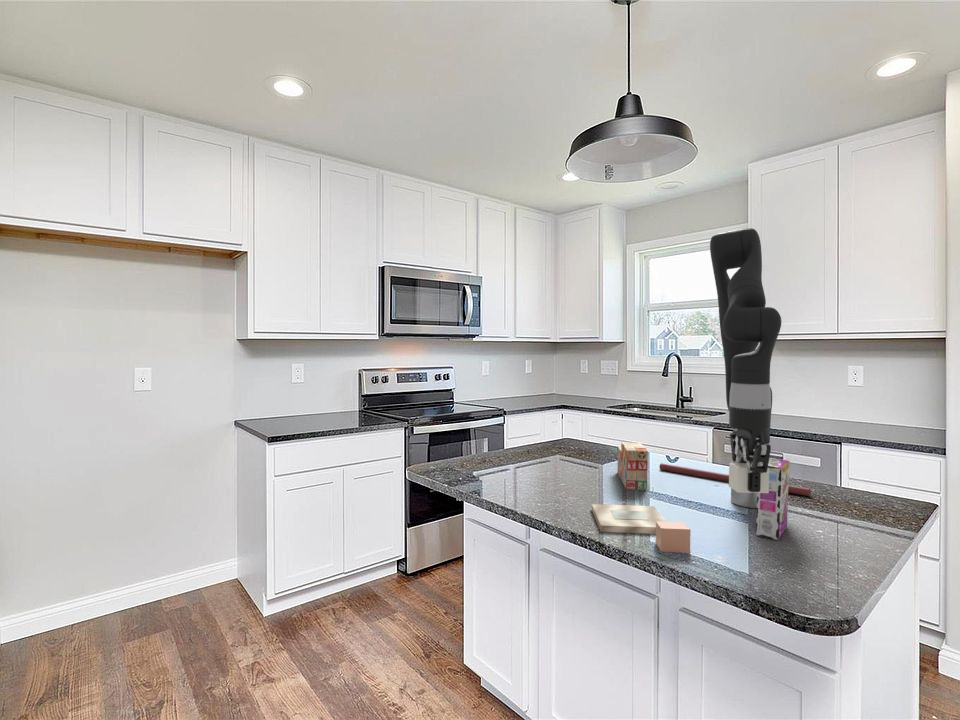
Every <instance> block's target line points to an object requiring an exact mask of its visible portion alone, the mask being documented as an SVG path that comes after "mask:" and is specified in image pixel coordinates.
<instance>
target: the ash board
mask: <svg viewBox="0 0 960 720" xmlns="http://www.w3.org/2000/svg"><path fill="white" fill-rule="evenodd" d="M591 511H592V513H593V517H594V518H595V520H596V523H597V526H598V528H599V531H600V532H601V533H626V534H627V533H629V534H651V535H653V534H655V535H656V521H666V522H668V521H667V520H666V519H665V518H664V517H663V516H662V513H660V511H659V510H658V509H657V507H656V506H654V505H631V504H630V505H629V504H628V505H625V504H601V503H600V504H599V503H598V504H596V503H595V504H591Z"/></svg>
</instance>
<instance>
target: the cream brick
mask: <svg viewBox="0 0 960 720" xmlns="http://www.w3.org/2000/svg"><path fill="white" fill-rule="evenodd" d="M728 475H729V482H728V487H729V488H730V489H731V488H732V489H733V490H735V491H736V492H738V493H769V468H767V472H766V473H764V472H763V473H761V482H760V491H759V492H750V491H749V490H748V469H747V463H732V462H729V463H728Z"/></svg>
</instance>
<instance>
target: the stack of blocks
mask: <svg viewBox="0 0 960 720" xmlns="http://www.w3.org/2000/svg"><path fill="white" fill-rule="evenodd" d="M616 451H617V452H616V453H617V474H618V476H619V478H620V480H621V481H622V484H623V486H624V489H625V490H626V489H627V490H628V491H648V464H649V462H648V460H649V457H648V456H649V450H648V449H647V448H646V446H644V445H643V444H642V443H641V442H627V441H625V442H621V444H620V445H619V446H618V445H617V447H616Z"/></svg>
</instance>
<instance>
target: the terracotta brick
mask: <svg viewBox="0 0 960 720" xmlns="http://www.w3.org/2000/svg"><path fill="white" fill-rule="evenodd" d="M666 521H667V520H666ZM666 521H656V534H655V545H656V546H657V548H658V549H659V551H660V552H667V553H669V552H670V553H687V554H688V553H691V528H690V527H689V526H688V525H687V523H685V522H684V521H667V522H666Z"/></svg>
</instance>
